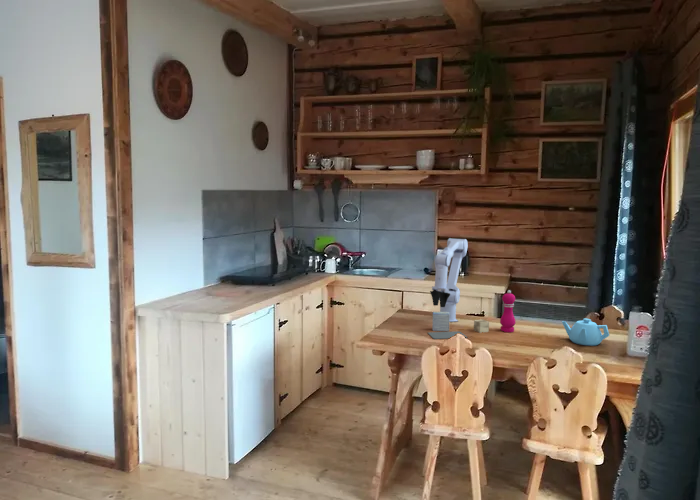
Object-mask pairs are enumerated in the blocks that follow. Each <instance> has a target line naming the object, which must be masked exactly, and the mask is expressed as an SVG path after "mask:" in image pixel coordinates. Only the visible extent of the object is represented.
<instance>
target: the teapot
mask: <svg viewBox="0 0 700 500" xmlns="http://www.w3.org/2000/svg"><path fill="white" fill-rule="evenodd" d="M561 323H562V325H563V327H564V329H565V332H566V334H567V336H568V338H569V340H570V341H571V342H572V343H574V344H576V345H580V346H587V347H588V346H590V347H593V346H598V345H599V344H601V343H602V342H603V340H605V339H607V338H608V337H609V336H610V332H609V329H608V325H607V324H602V325H601V324H599V325H598V324H597V323H596V322H593V321H592V319H590V318H586V317H585V318H583V319H582V320H577V321H575V322H574V324H573V325H572V326H571V327H570V325H569V324H568V323H567V321H565V320H562V321H561ZM601 329H603V334H602V330H601Z"/></svg>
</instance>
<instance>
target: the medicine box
mask: <svg viewBox="0 0 700 500" xmlns="http://www.w3.org/2000/svg"><path fill="white" fill-rule="evenodd" d="M449 317H450V314H449V312H440V311H432V324H431V325H432V332H450V322H449Z"/></svg>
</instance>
